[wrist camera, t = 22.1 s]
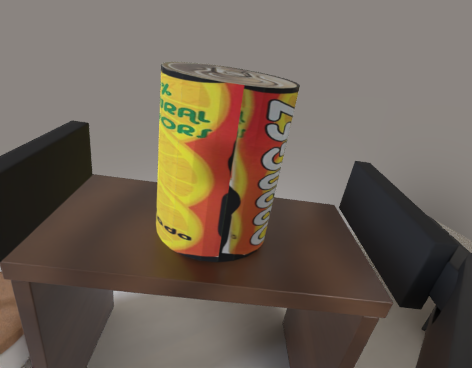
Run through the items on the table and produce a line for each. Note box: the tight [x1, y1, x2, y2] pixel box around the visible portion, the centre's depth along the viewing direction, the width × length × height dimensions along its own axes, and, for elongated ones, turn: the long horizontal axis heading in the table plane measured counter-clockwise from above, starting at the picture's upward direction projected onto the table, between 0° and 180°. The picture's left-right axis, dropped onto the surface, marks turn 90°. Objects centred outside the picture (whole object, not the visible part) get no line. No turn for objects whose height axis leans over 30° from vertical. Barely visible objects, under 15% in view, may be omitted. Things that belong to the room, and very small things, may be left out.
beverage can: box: [156, 62, 300, 262], centre depth 22 cm, size 9×9×12 cm
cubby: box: [0, 174, 393, 368], centre depth 29 cm, size 25×13×18 cm, turn 90°
